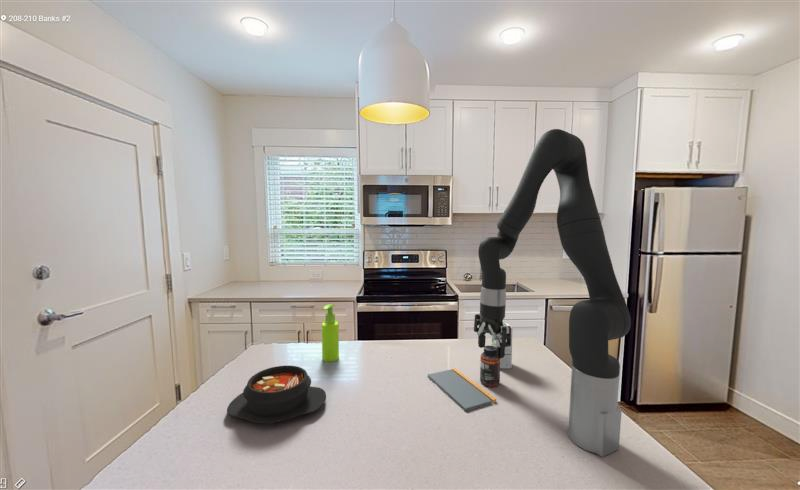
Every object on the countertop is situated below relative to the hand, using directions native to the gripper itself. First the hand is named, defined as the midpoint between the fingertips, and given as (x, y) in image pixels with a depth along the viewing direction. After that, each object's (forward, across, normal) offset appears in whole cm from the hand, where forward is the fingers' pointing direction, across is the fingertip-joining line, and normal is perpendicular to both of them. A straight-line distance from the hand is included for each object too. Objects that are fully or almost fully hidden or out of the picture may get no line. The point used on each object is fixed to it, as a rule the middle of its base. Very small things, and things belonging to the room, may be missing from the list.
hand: (490, 352), depth 98 cm
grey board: (+10, 0, +10) cm, 14 cm away
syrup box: (+10, +8, -12) cm, 17 cm away
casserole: (+10, +12, +61) cm, 63 cm away
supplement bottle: (+10, 0, 0) cm, 10 cm away
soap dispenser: (+10, +36, +43) cm, 57 cm away
